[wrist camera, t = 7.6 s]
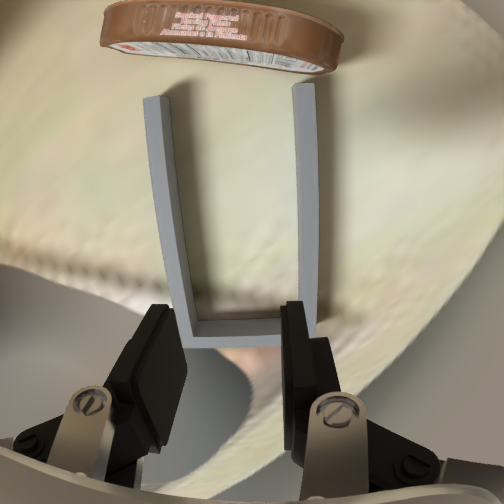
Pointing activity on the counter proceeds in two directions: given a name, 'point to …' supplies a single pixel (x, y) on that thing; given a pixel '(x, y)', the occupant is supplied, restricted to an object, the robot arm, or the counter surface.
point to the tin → (223, 34)
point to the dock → (174, 241)
